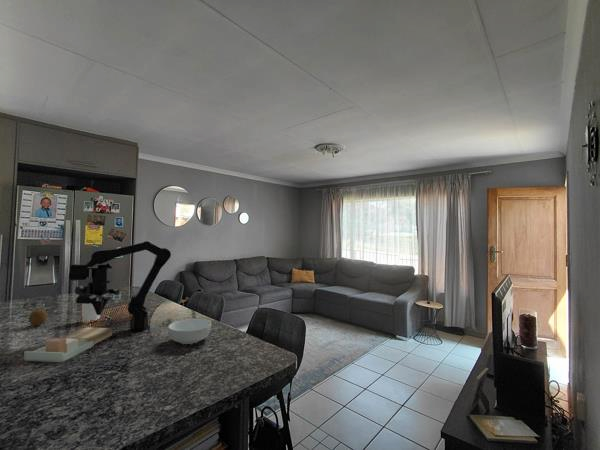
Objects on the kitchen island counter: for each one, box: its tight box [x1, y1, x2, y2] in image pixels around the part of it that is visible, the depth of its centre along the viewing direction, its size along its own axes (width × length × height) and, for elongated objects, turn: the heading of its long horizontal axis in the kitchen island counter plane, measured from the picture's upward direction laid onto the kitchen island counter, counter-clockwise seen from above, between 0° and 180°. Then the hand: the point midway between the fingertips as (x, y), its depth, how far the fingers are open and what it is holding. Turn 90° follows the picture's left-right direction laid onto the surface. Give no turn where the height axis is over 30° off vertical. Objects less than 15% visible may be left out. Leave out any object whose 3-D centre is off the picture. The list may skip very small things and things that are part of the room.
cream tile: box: [66, 338, 78, 352], centre depth 109 cm, size 5×5×3 cm
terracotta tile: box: [45, 337, 66, 353], centre depth 105 cm, size 5×5×3 cm
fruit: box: [28, 308, 48, 327], centre depth 135 cm, size 6×6×8 cm
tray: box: [23, 341, 95, 363], centre depth 107 cm, size 14×14×3 cm
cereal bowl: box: [167, 318, 212, 345], centre depth 121 cm, size 17×17×7 cm
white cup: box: [81, 303, 101, 324], centre depth 143 cm, size 8×8×10 cm
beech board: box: [62, 327, 113, 345], centre depth 120 cm, size 12×12×3 cm
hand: (98, 314), depth 126 cm, fingers closed
